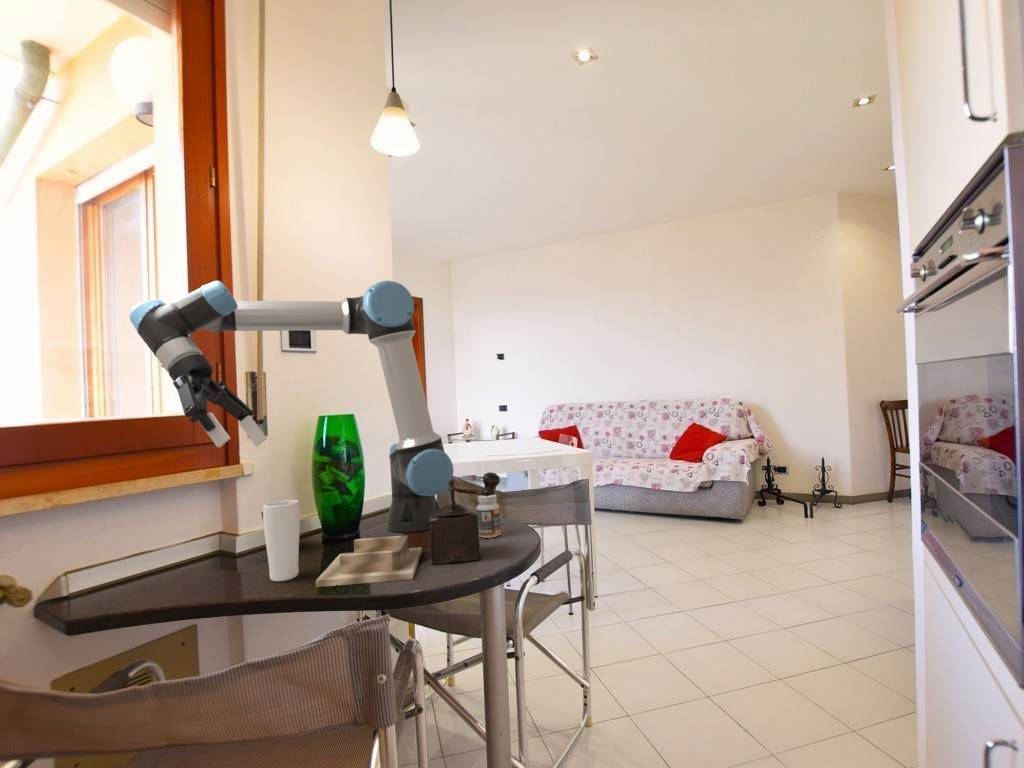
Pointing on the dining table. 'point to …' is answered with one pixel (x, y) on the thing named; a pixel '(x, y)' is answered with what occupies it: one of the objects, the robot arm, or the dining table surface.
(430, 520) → the manual coffee grinder
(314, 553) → the dining table surface
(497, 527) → the pill bottle
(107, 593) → the dining table surface
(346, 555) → the stand
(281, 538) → the drinking glass
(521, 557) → the dining table surface
